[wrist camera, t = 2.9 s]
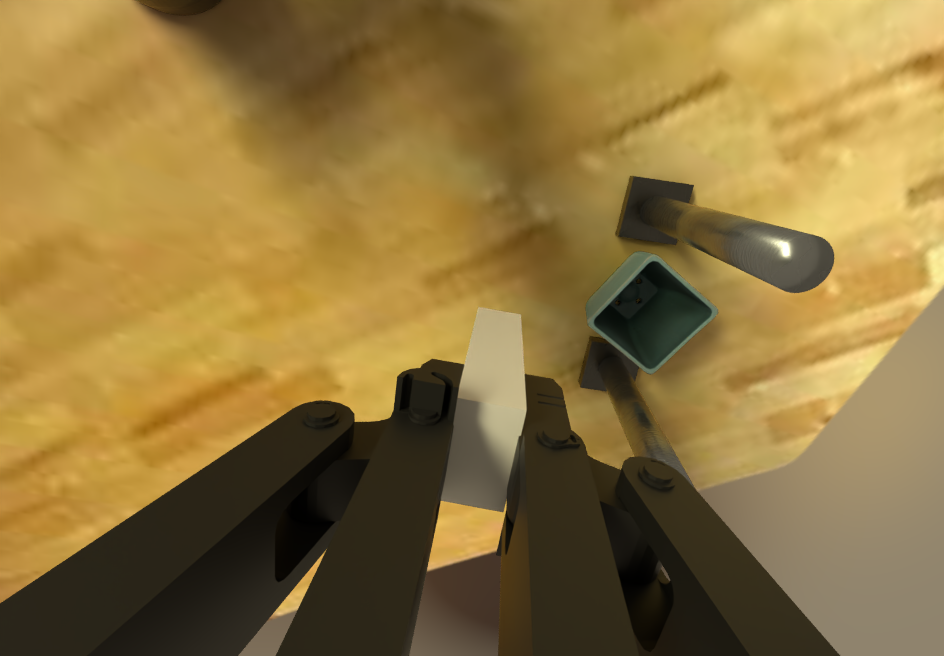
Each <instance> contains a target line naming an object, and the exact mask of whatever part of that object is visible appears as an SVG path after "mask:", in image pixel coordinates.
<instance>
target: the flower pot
mask: <svg viewBox="0 0 944 656" xmlns="http://www.w3.org/2000/svg"><path fill="white" fill-rule="evenodd" d="M637 279H640V280H641V282H640V283H637V282H636V280H637ZM637 299H640V300H641V301H640V302H639V303H637V302H636V300H637ZM617 300H619V301H620V304H618V305H617V304H616V303H615V302H616V301H617ZM717 314H718V309H717V307H716V306H715V305H713V304H712V303H711V302H710V301H709V300H707V299H706V298H705V297H704V296H703V295H702V294H701V293H699V292H698V291H697V290H696V289H695V288H694V287H692V286H691V285H690V284H689V283H688V282H687V281H686V280H685V279H683V278H682V277H681V276H680V275H679V274H678V273H677V272H676V271H675V270H673V269H672V268H671V267H670V266H669V265H668V264H667V263H666V262H665V261H664V260H662V259H661V258H660V257H659V256H658V255H655V254H651V253H647V252H642V251H638V252H635V253H633V254H632V255H630V256H629V257H628V258H627V259H626V261H625V262H624V263H623V264H622V265H621V266H620V267H619V268H618V269H617V270H616V271H615V272H614V273H613V274H612V275H611V276H610V277H609V279H608V280H607V281H606V282H605V283H604V284H603V285H602V286H601V287H600V288H599V289H598V290H597V291H596V292H595V293H594V294H593V295H592V296H591V297H590V299H589V300H588V301H587V304H586V316H587V324H588V326H589V327H590V328H592V329H593V330H594V331H595V332H597V333H598V334H599V335H601V336H602V337H603V338H604V339H606V340H607V341H608V342H610V343H611V344H612V345H613V346H615V347H616V348H617V349H618V350H619V351H621V352H622V353H623V354H624V355H626V356H627V357H628V358H629V359H630V360H632V361H633V362H634V363H635V364H636V365H637V366H639V367H640V368H641V369H642V370H643V371H644V372H646V373H648V374H653V373H655V372H656V371H657V370H658V369H659V368H660V367H661V366H662V365H664V364H665V363H666V362H667V361H668V360H669V359H670V358H671V357H672V356H673V355H674V354H675V353H676V352H677V351H678V350H679V349H681V347H683V346H684V345H685V344H686V343H687V342H688V341H689V340H690V339H691V338H692V337H693V336H694V335H696V334H697V333H698V332H699V331H700V330H701V329H702V328H703V327H705V326H706V325H707V324H708V323H709V322H710V321H711V320H713V319H714V318H715V316H716V315H717Z"/></svg>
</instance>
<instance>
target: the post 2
mask: <svg viewBox="0 0 944 656" xmlns="http://www.w3.org/2000/svg"><path fill="white" fill-rule="evenodd" d="M693 187H694V185H689V184H683V183H676V182H669V181H662V180H656V179H649V178H642V177H635V176H630V178H629V182H628V186H627V190H626V194H625V198H624V202H623V206H622V210H621V214H620V218H619V222H618V226H617V230H616V235H618V236H620V237H627V238H633V239H640V240H647V241H653V242H660V243H666V244H673V245H676V243H677V240H680V241H682V242H684V243H686V244H688V245H690V246H692V247H694V248H696V249H698V250H701V251H703V252H705V253H707V254H709V255H711V256H713V257H715V258H717V259H719V260H721V261H723V262H725V263H728V264H730V265H732V266H734V267H736V268H738V269H740V270H742V271H744V272H746V273H748V274H750V275H753V276H755V277H757V278H759V279H761V280H763V281H765V282H767V283H769V284H771V285H773V286H775V287H777V288H780V289H782V290H784V291H786V292H791V293H800V292H805V291H808V290H811V289H813V288H815V287H816V286H818V285H819V284H820V283H822V282H823V281H824V280H825V279H826V277H827V276H828V275H829V273H830V271H831V269H832V267H833V263H834V252H833V249H832V247H831V245H830V244H829V243H828V242H827V241H826V240H825V239H823V238H821V237H819V236H815V235H811V234H807V233H803V232H799V231H795V230H791V229H787V228H783V227H779V226H776V225H772V224H768V223H764V222H760V221H756V220H752V219H748V218H744V217H740V216H736V215H732V214H728V213H724V212H720V211H716V210H712V209H708V208H704V207H700V206H696V205H693V204H689V200H690V197H691V194H692V190H693Z"/></svg>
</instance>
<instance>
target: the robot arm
mask: <svg viewBox="0 0 944 656" xmlns="http://www.w3.org/2000/svg"><path fill="white" fill-rule="evenodd" d="M136 1H138V2H140V3H142V4H144V5H147V6H149V7H151V8H154V9H156V10H159V11H161V12H165V13H168V14H173V15H192V14H197V13H200V12H203V11H206V10H208V9H210V8H212V7H213V6H215V5H216V4H217V3H219V2H220V1H221V0H136ZM506 499H507V510H506V514H505V519H504V523H503V527H502V532H501V536H500V540H499V545H498V549H497V553H496V555H498V556H501V581H500V613H499V645H498V656H840V655H839V654H838V653H837V652H836V651H835V649H834V648H833V647H832V646H831V645H830V644H829V642H828V641H827V640H826V639H825V638H824V637H823V636H822V634H821V633H820V632H819V631H818V630H817V629H816V627H815V626H814V625H813V624H812V623H811V622H810V621H809V620H808V619H807V617H806V616H805V615H804V614H803V613H802V611H801V610H800V609H799V608H798V607H797V606H796V605H795V603H794V602H793V601H792V600H791V599H790V598H789V597H788V595H787V594H786V593H785V592H784V591H783V590H782V588H781V587H780V586H779V585H778V584H777V583H776V582H775V580H774V579H773V578H772V577H771V576H770V575H769V573H768V572H767V571H766V570H765V569H764V568H763V567H762V565H761V564H760V563H759V562H758V561H757V560H756V558H755V557H754V556H753V555H752V554H751V553H750V552H749V550H748V549H747V548H746V547H745V546H744V545H743V544H742V542H741V541H740V540H739V539H738V538H737V537H736V535H735V534H734V533H733V532H732V531H731V530H730V529H729V527H728V526H727V525H726V524H725V523H724V522H723V521H722V519H721V518H720V517H719V516H718V515H717V514H716V513H715V511H714V510H713V509H712V508H711V507H710V506H709V504H708V503H707V502H706V501H705V500H704V499H703V498H702V497H701V495H700V494H699V493H698V492H697V491H696V489H695V488H694V487H693V486H692V485H691V484H690V483H689V481H688V480H687V479H686V478H685V477H684V476H683V475H682V474H680V473H679V472H678V471H677V470H676V469H674V468H672V467H671V466H669V465H667V464H666V463H664V462H662V461H660V460H659V461H658V460H657V459H653V458H647V457H641V456H638V457H630V458H628V459H627V460H625V461H624V463H623V466H622V469H621V470H620V469H617V468H614V467H612V466H609V465H607V464H604V463H602V462H599V461H597V460H595V459H593V458H592V457H590V456H588V455H587V451H586V447H585V444H584V442H583V441H582V439H581V438H580V437H579V436H578V435H577V434H576V433H575V432H573V431H572V430H571V427H570V423H569V418H568V414H567V409H566V405H565V401H564V396H563V392H562V388H561V387H560V386H559V385H558V384H557V383H556V382H555V381H554V380H553V379H550V378H544V377H539V376H533V375H528V374H524V357H523V341H522V324H521V314H516V313H510V312H504V311H499V310H493V309H487V308H482V307H478V311H477V315H476V319H475V323H474V327H473V332H472V336H471V340H470V344H469V348H468V352H467V356H466V361H465V365H464V364H459V363H453V362H448V361H442V360H437V359H431V360H429V361H428V362H426V363H424V364H423V365H422V366H421V368H415V369H409V370H406V371H404V372H402V373H401V374H400V375H399V376H398V377H397V385H396V394H395V403H394V411H393V413H392V415H391V417H390V418H388V419H385V420H381V421H374V422H355V419H354V413H353V412H352V411H351V409H350V408H349V407H347V406H345V405H343V404H341V403H336V402H331V401H323V400H322V401H313V402H308V403H304V404H302V405H299V406H297V407H295V408H293V409H292V410H290V411H289V412H287V413H286V414H284V415H283V416H281V417H280V418H278V419H277V420H275V421H274V422H272V423H271V424H269V425H268V426H266V427H265V428H263V429H262V430H260V431H259V432H257V433H256V434H254V435H253V436H251V437H250V438H248V439H247V440H245V441H244V442H242V443H241V444H239V445H238V446H236V447H235V448H233V449H232V450H230V451H229V452H227V453H226V454H224V455H223V456H221V457H220V458H218V459H217V460H215V461H214V462H212V463H211V464H209V465H208V466H206V467H205V468H203V469H202V470H200V471H199V472H197V473H196V474H194V475H193V476H191V477H190V478H188V479H187V480H185V481H184V482H182V483H181V484H179V485H178V486H176V487H175V488H173V489H172V490H170V491H168V492H167V493H165V494H164V495H162V496H161V497H159V498H158V499H156V500H155V501H153V502H152V503H150V504H149V505H147V506H146V507H144V508H143V509H141V510H140V511H138V512H137V513H135V514H134V515H132V516H131V517H129V518H128V519H126V520H125V521H123V522H122V523H120V524H119V525H117V526H116V527H114V528H113V529H111V530H110V531H108V532H107V533H105V534H104V535H102V536H101V537H99V538H98V539H96V540H95V541H93V542H92V543H90V544H89V545H87V546H86V547H84V548H83V549H81V550H80V551H78V552H77V553H75V554H74V555H72V556H71V557H69V558H68V559H66V560H65V561H63V562H62V563H60V564H59V565H57V566H56V567H54V568H53V569H51V570H50V571H48V572H47V573H45V574H44V575H42V576H41V577H39V578H38V579H36V580H35V581H33V582H32V583H30V584H29V585H27V586H26V587H24V588H23V589H21V590H20V591H18V592H17V593H15V594H14V595H12V596H11V597H9V598H8V599H6V600H5V601H3V602H2V603H0V656H238V655H239V654H240V653H241V651H242V650H243V649H244V648H245V647H246V645H247V644H248V643H249V642H250V641H251V639H252V638H253V637H254V636H255V635H256V633H257V632H258V631H259V630H260V628H261V627H262V626H263V625H264V624H265V623H266V621H267V620H268V619H269V618H270V617H271V615H272V614H273V613H274V612H275V611H276V609H277V608H278V607H279V606H280V605H281V603H282V602H283V601H284V600H285V598H286V597H287V596H288V595H289V594H290V592H291V591H292V590H293V589H294V588H295V586H296V585H297V584H298V583H299V582H300V580H301V579H302V578H303V577H304V576H305V574H306V573H307V572H308V571H309V570H310V568H311V567H312V566H313V565H314V564H315V562H316V561H317V560H318V559H319V557H320V556H321V555H322V554H323V553H324V551H325V550H326V549H327V550H326V552H325V554H324V556H323V558H322V561H321V563H320V565H319V567H318V569H317V571H316V573H315V575H314V577H313V579H312V581H311V583H310V586H309V588H308V590H307V592H306V594H305V596H304V598H303V600H302V602H301V604H300V606H299V608H298V610H297V613H296V615H295V617H294V619H293V621H292V623H291V625H290V627H289V629H288V631H287V633H286V635H285V638H284V640H283V642H282V644H281V646H280V648H279V650H278V652H277V654H276V656H409V653H410V648H411V643H412V638H413V634H414V629H415V624H416V619H417V614H418V610H419V605H420V600H421V595H422V590H423V586H424V581H425V576H426V572H427V567H428V562H429V557H430V552H431V547H432V543H433V538H434V533H435V528H436V523H437V519H438V513H439V507H440V501H446V502H452V503H457V504H462V505H468V506H473V507H478V508H484V509H489V510H494V511H500V512H504V507H505V503H506ZM662 565H663V567H664V568H665V570H666V572H667V573H668V575H669V578H670V580H671V581H669V580H668V579H667V578H666V576H665V575H664V573H663V572H662V570H661V567H662Z"/></svg>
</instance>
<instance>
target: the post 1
mask: <svg viewBox="0 0 944 656" xmlns="http://www.w3.org/2000/svg"><path fill="white" fill-rule="evenodd" d="M638 369H639V366H637V365H636V364H635V363H634V362H633V361H632V360H630V359H629V358H628V357H627V356H626V355H624V354H623V353H622V352H621V351H619V350H618V349H617V348H616V347H615V346H613V345H612V344H611V343H610V342H608V341H607V340H606V339H604V338H597V337H591V336H590V337H589V341H588V345H587V349H586V353H585V357H584V361H583V365H582V369H581V373H580V377H579V381H578V382H579V385H580V387H582V388H588V389H594V390H601V391H607V392H608V395H609V397H610V399H611V402H612V404H613V406H614V409H615V411H616V413H617V416H618V418H619V420H620V423H621V425H622V427H623V430H624V432H625V434H626V437H627V439H628V441H629V444H630V446H631V448H632V451H633V453H634V455H635V457H638V456H641V457H647V458H653V459H657V460H658V461H659V460H660V461H662V462H664V463H666V464H667V465H669V466H671V467H672V468H674V469H676V470H677V471H678V472H679V473H680V474H682V475H683V476H684V477H685V478H686V479H687V480H688V481H689V483H690V484H691V485H692V486H693V484H692V482H691V480H690V479H689V477H688V475H687V473H686V472H685V470H684V468H683V466H682V465H681V463H680V461H679V459H678V458H677V456H676V454H675V452H674V451H673V449H672V447H671V445H670V443H669V442H668V440H667V438H666V436H665V435H664V433H663V431H662V429H661V428H660V426H659V424H658V422H657V421H656V419H655V417H654V415H653V414H652V412H651V410H650V408H649V407H648V405H647V403H646V401H645V400H644V398H643V396H642V394H641V393H640V391H639V389H638V387H637V385H636V384H635V379H636V376H637V372H638ZM693 487H694V486H693ZM694 488H695V487H694Z"/></svg>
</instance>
